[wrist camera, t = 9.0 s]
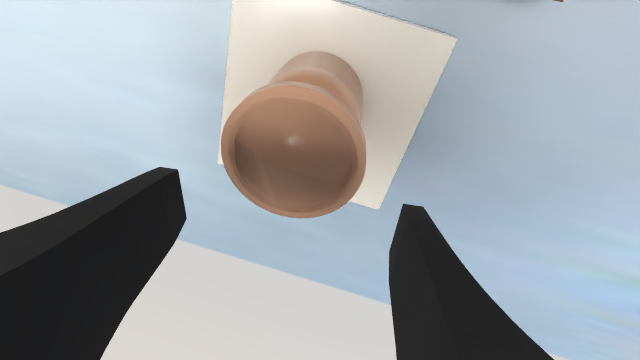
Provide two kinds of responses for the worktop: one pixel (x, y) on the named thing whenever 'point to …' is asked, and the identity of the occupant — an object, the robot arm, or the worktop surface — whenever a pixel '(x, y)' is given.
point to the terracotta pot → (299, 138)
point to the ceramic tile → (355, 49)
